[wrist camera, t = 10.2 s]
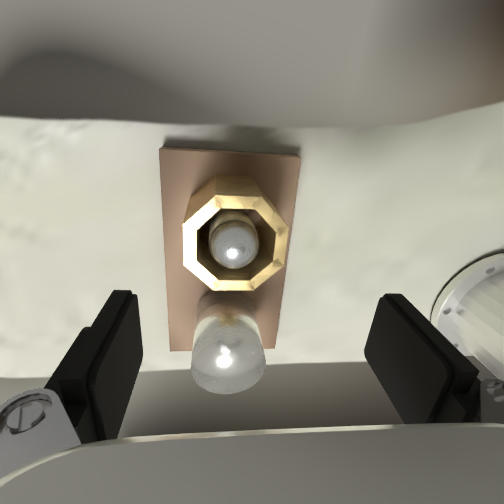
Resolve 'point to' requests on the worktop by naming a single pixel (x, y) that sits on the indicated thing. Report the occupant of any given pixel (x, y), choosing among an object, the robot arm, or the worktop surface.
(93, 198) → the worktop surface
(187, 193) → the pipe board
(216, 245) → the pair of light bulbs
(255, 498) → the robot arm
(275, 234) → the brass coupling
